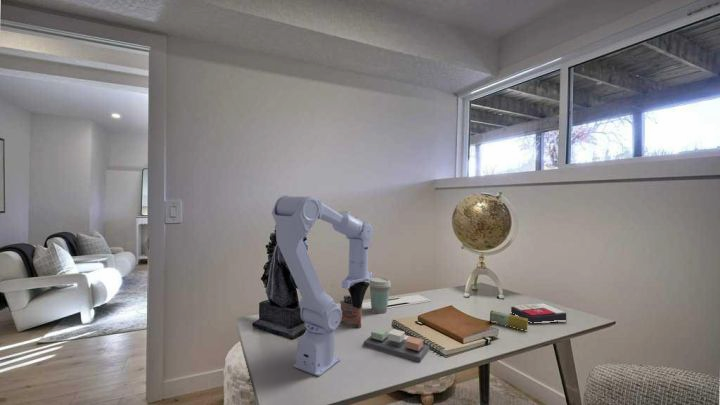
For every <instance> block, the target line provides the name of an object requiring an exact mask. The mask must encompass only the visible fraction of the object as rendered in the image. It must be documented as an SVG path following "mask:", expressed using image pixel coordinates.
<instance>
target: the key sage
mask: <svg viewBox="0 0 720 405" xmlns="http://www.w3.org/2000/svg"><path fill="white" fill-rule="evenodd" d="M387 335H388V330H387V329H383V328H380V327H375V329H373V330H371V332H370V336H371V338H373V339H377V340H380V341H383V340H384V339H385V338H386V337H387Z"/></svg>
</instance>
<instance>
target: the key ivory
mask: <svg viewBox="0 0 720 405" xmlns="http://www.w3.org/2000/svg"><path fill="white" fill-rule="evenodd" d="M405 333H406V332H405V331H402V330H399V329H395V328H392V329H391V330H390V331H389V332H387V335H388V340H392V341H395V342H399V343H400V342H401V341H402V340H403V339H404V338H405V335H406V334H405Z"/></svg>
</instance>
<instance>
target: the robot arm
mask: <svg viewBox="0 0 720 405" xmlns="http://www.w3.org/2000/svg"><path fill="white" fill-rule="evenodd" d="M271 215H272V217H273V220H274V222H275V240H276V244H277V246H278V248H279V251H280V252H281V255H282V256H283V259H284V261H285V264H286V265H287V267H288V270H289V272H290V274H291V277H292V278H293V280H294V283H295V285H296V288H297V290H298V292H299V294H300V296H301V298H300V300H299V302H298V306H299V308H300V309H299V311H300V318H301V320H302V322H304V327H305V328H306V329H305V332H304V333H303V335H302V336H300V337H299V338H298V341H297V344H296V348H297V349H296V363H294V365H293V366H294V368H296V369H299V370H301V371H304V372H307V373H309V374H311V375H314V376H316V377H320V376H321V375H323V374H324V373H325V372H326V371H328V370H330V369H331V367H333V366H334V365H335V364H337V363H338V362H339V361H340V360H341V357H340V356H337V355H335V330H337V329H338V327H339V326H340V325H341V324H340V322H341V318H342V311H341V306H340V305H337V303H336V302H335V299H334V298H332V297H331V296H330V295H329V294H328V293H326V291H324V287H323V286H322V283H321V280H320V278H319V275H318V274H317V271H316V269H315V266H314V264H313V261H312V259H311V257H310V254H309V252H308V250H307V247H306V245H305V242H304V239H305V238H306V237H307V236H308V234H309V233H310V231H311V229H312V228H313V226H314V225H315V224H316V222H317V220H321V221H324V222H326V223H328V224H331V226H332V228H333V230H334V231H336V232H337V233H340V234H342V235H344V236H346V237H345V238H346V239H347V240H349V242H348V243H349V245H348V275H347V276H346V278H344V280H342V281H341V288H342V289H345V290H346V289H347V290H348V292H349V295H351V299H352V304H353V307H355V308H360V307H361V306H362V307H363V302H364V299H365V298H364V297H365V296H366V293H367V290H368V288H370V285H369V282H370V280H371V278H373V272H372V271H369V247H370V246H371V241H372V238H373V234H374V230H373V227H372V225H371V224H370V223H369V222H368V221H362V220H361V219H360V218H359V217H357V216H354V215H351V212H350V211H348V210H344V211H339V212H337V211H336V210H334V209H332V208H331V207H329V206H328V205H326V204H325V203H323V202H322V200H321V199H318V198H316V197H314V196H312V195H308V196H307V195H306V196H293V195H291V196H290V195H281V196H280V197H278V199H276V201H275V203H274V206H273V208H272V210H271ZM362 307H361V308H362Z"/></svg>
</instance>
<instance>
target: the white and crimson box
mask: <svg viewBox="0 0 720 405" xmlns="http://www.w3.org/2000/svg"><path fill="white" fill-rule="evenodd" d="M510 311H511V312H512V313H514V314H516V315H518V316H519V317H523V318H527V319H528V321H530V322H532V323H534V322H542V321H554V320H566V321H567V313H566V312H565V311H562V310H561V309H557V308H556V307H553V306H551V305H548V304H545V303H530V304H518V305H517V304H516V305H512V306H511V307H510ZM511 312H510V313H511Z"/></svg>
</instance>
